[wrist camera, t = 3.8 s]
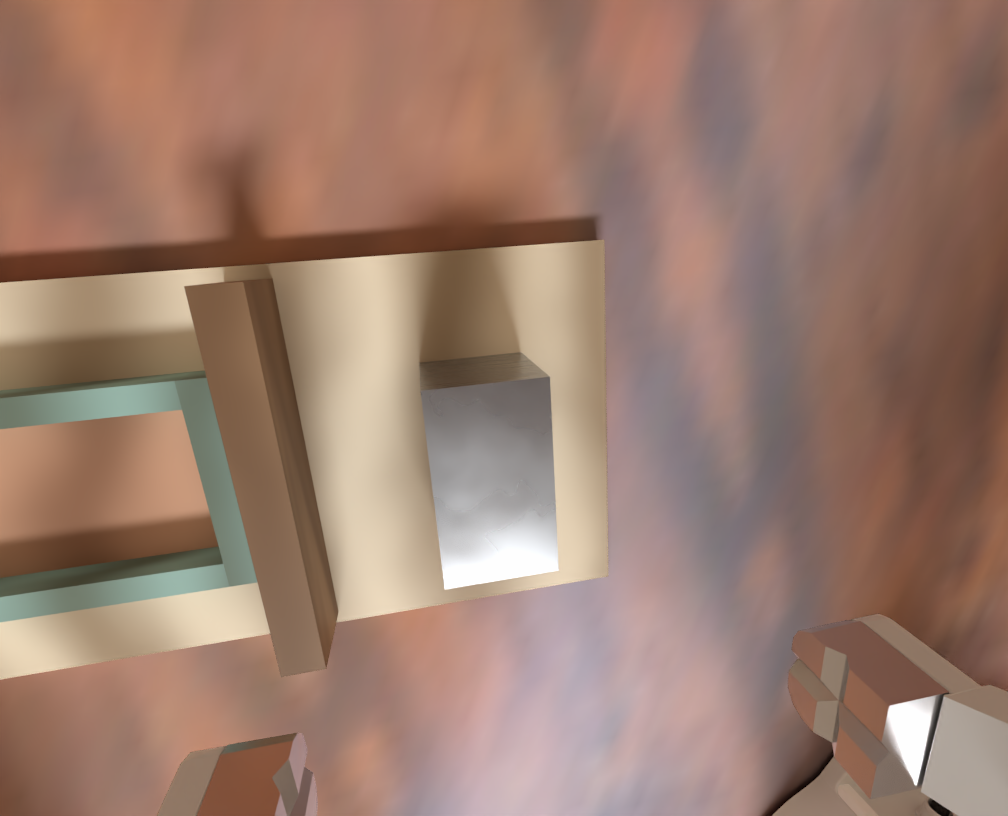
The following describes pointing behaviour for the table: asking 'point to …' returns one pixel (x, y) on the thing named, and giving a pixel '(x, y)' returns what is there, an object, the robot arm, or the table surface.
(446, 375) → the block
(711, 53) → the table surface
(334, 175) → the table surface
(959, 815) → the robot arm
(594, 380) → the lock board
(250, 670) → the table surface
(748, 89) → the table surface
